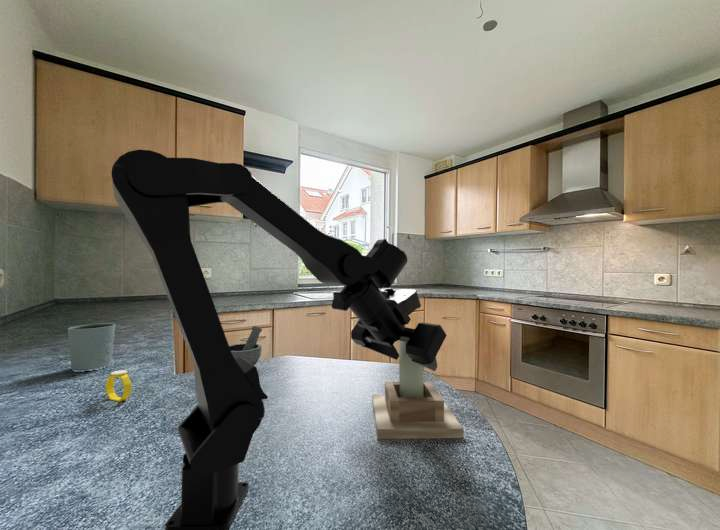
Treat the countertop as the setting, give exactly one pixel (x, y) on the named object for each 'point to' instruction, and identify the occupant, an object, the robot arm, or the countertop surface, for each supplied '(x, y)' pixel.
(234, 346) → the mortar and pestle
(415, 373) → the post
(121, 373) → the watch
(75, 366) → the grey plant pot
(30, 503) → the countertop surface
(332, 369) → the countertop surface
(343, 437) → the countertop surface
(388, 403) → the socket base
